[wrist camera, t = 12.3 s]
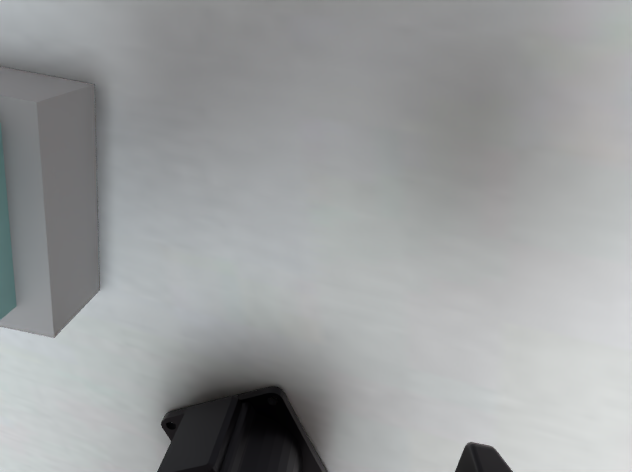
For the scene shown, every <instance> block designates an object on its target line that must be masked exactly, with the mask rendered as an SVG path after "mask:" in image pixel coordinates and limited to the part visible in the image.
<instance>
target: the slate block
mask: <svg viewBox="0 0 632 472" xmlns="http://www.w3.org/2000/svg"><path fill="white" fill-rule="evenodd" d="M0 123H1V132H2V143H3V155H4V166H5V178H6V190H7V201H8V213H9V224H10V236H11V248H12V259H13V271H14V283H15V294H16V307H15V308H14V309H13V310H11V311H10V312H9V313H8V314H7V315H6V316H4V317H3V318H2V319H1V320H0V327H4V328H9V329H14V330H19V331H23V332H28V333H33V334H38V335H43V336H48V337H52V338H55V336H56V335H57V334H58V333H59V332H60V331H61V330H62V329H63V328H64V327H65V326H66V325H67V324H68V323H69V322H70V321H71V320H72V319H73V318H74V317H75V316H76V314H77V313H78V312H79V311H80V310H81V309H82V308H83V307H84V306H85V305H86V304H87V303H88V302H89V301H90V300H91V299H92V298H93V297H94V296H95V295H96V294H97V292H98V291H99V290H100V278H99V239H98V199H97V159H96V120H95V84H90V83H85V82H80V81H74V80H69V79H64V78H59V77H53V76H48V75H43V74H38V73H33V72H27V71H22V70H17V69H12V68H6V67H1V66H0Z"/></svg>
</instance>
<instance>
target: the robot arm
mask: <svg viewBox="0 0 632 472" xmlns="http://www.w3.org/2000/svg"><path fill="white" fill-rule="evenodd" d="M271 397H275V398H277V399H272V398H271ZM171 422H173V423H171ZM161 425H162V428H163V429H164V431H165V432H166V434H167V435H168V437H169V438H170V440H171V441H172V442H171V444H170V446H169V448H168V450H167V452H166V454H165V457H164V459H163V461H162V463H161V465H160V467H159V469H158V471H157V472H326V470H325V468H324V466H323V464H322V463H321V461H320V459H319V457H318V455H317V453H316V451H315V449H314V448H313V446H312V444H311V442H310V440H309V438H308V436H307V434H306V433H305V431H304V429H303V427H302V425H301V423H300V421H299V419H298V418H297V416H296V414H295V412H294V410H293V408H292V406H291V404H290V403H289V401H288V399H287V397H286V395H285V393H284V392H283V391H282V390H281V389H280V388H278V387H268V388H264V389H260V390H256V391H252V392H248V393H244V394H240V395H236V396H230V397H226V398H222V399H218V400H214V401H210V402H206V403H202V404H198V405H194V406H190V407H188V408H184V409H180V410H176V411H172V412H169V413H167V414H166V415H165V416H164V418H163V420H162V422H161ZM455 472H513V471H512V470H511V469H510V467H509V466H508V465H507V463H506V462H505V461H504V460H503V458H502V457H501V456H500V454H499V453H498V452H497V451H496V449H494V448H493V447H492V446H489V445H484V444H479V443H474V442H469V443H467V445H466V446H465V448H464V450H463V453H462V455H461V458H460V460H459V463H458V466H457V468H456V471H455Z"/></svg>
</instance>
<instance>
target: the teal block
mask: <svg viewBox="0 0 632 472" xmlns="http://www.w3.org/2000/svg"><path fill="white" fill-rule="evenodd" d="M15 307H16V294H15V283H14V271H13V259H12V248H11V236H10V224H9V213H8V201H7V190H6V178H5V166H4V155H3V143H2V132H1V123H0V320H1V319H2V318H3V317H4V316H6V315H7V314H8V313H9V312H10V311H11V310H13V309H14V308H15Z"/></svg>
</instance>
